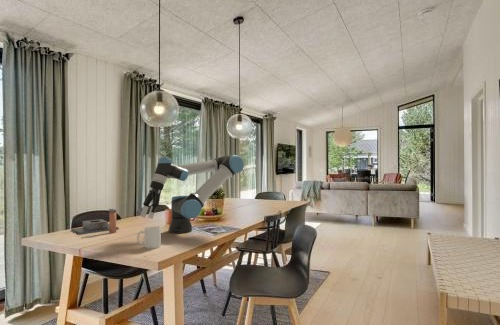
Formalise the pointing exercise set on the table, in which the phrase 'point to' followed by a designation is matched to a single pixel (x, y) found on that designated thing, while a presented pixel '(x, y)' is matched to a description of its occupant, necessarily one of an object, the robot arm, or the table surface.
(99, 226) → the hitch plate
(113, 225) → the pin
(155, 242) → the cup
